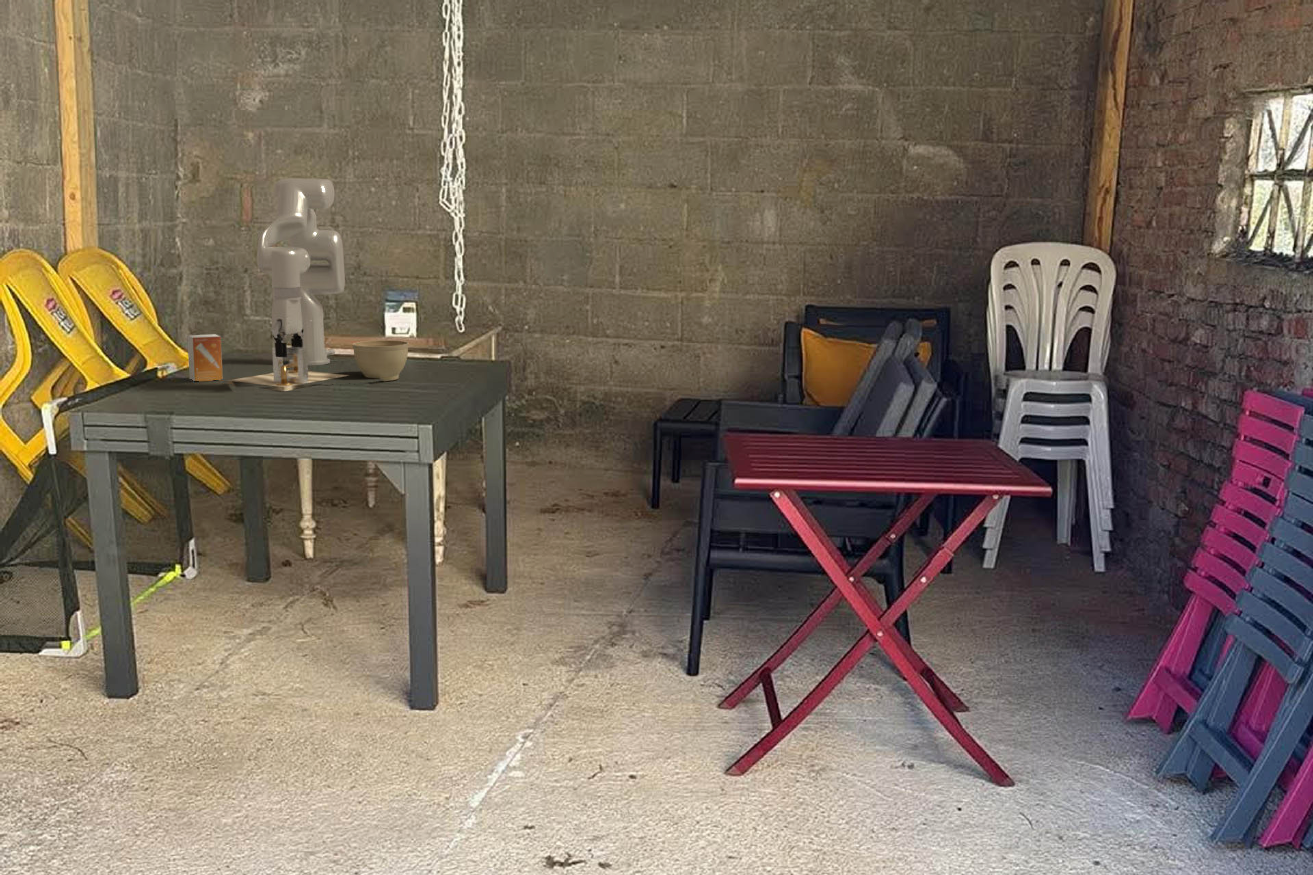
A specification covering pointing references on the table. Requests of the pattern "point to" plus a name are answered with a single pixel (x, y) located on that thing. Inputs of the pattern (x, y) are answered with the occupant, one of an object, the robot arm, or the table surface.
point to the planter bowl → (381, 358)
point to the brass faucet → (284, 371)
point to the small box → (205, 357)
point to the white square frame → (302, 365)
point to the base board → (269, 378)
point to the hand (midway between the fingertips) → (289, 354)
